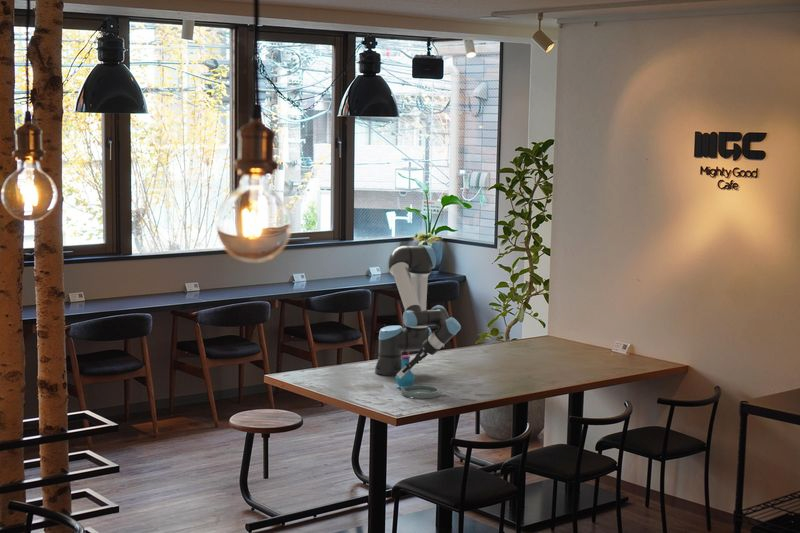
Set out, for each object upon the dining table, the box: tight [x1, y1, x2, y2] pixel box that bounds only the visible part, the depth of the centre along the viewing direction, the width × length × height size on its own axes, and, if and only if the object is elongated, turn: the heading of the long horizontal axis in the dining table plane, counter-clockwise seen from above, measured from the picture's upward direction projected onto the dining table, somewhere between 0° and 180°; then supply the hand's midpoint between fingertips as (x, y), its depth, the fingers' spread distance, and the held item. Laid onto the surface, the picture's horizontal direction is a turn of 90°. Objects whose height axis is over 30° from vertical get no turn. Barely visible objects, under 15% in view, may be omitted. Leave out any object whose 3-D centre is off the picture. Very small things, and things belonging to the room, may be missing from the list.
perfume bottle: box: [395, 354, 416, 389], centre depth 488 cm, size 9×9×15 cm
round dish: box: [400, 384, 441, 399], centre depth 475 cm, size 17×17×2 cm
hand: (401, 373), depth 489 cm, fingers open, 13 cm apart
